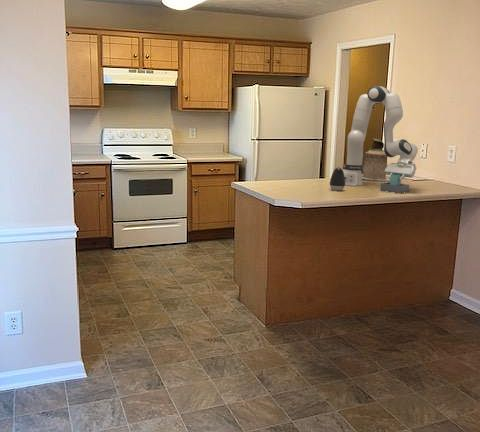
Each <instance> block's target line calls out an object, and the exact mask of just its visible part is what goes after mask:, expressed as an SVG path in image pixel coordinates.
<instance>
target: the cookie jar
mask: <svg viewBox="0 0 480 432" xmlns="http://www.w3.org/2000/svg"><path fill="white" fill-rule="evenodd" d="M372 140H373V141H372V143H371V148H370V149H369V150H368V151H365V152H364V153H365V154H364V155H363V169H362V180H365V181H366V180H368V181H377V182H378V181H380V182H385V181H389V182H390V179H389V178H390V176H388V175H387V174H386V173H385V169H386V167H387V166H388V158H389V157H388V156H387V155H386V154H385V152H384V144H385V142H383V141H382V140H381V139H379V138H377V139H376V138H375V137H373V138H372Z"/></svg>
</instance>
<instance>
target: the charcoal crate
mask: <svg viewBox="0 0 480 432" xmlns="http://www.w3.org/2000/svg"><path fill="white" fill-rule="evenodd" d="M409 190H410V184H405V183H401V185H400V186H396V185H390V181H389V182H381V183H380V188H379V191H380V192H385V191H388V192H387V193H391V192H395V193H394V194H397V193H402V194H405V193H404V192H408V193H409Z"/></svg>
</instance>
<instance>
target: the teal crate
mask: <svg viewBox="0 0 480 432" xmlns="http://www.w3.org/2000/svg"><path fill="white" fill-rule="evenodd" d="M399 177H402V176H401V175H399V174H391V175H389V178H390V181H389V182H390V185H396V186H400V185H401V184H402V183H401V182H402V180H401V181H399V180H398V179H399Z"/></svg>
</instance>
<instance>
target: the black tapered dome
mask: <svg viewBox="0 0 480 432" xmlns="http://www.w3.org/2000/svg"><path fill="white" fill-rule="evenodd" d="M345 186H346V185H345V176H344V172H343V168H341V167H339V166H338V167H336V168H334V170H333V171H332V174H331V176H330V180H329V188H330V189H331V190H332V191H337V192H339V191H340V192H341V191H343V190H344V189H345Z"/></svg>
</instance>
